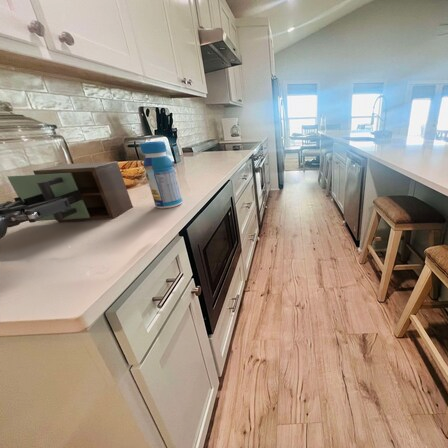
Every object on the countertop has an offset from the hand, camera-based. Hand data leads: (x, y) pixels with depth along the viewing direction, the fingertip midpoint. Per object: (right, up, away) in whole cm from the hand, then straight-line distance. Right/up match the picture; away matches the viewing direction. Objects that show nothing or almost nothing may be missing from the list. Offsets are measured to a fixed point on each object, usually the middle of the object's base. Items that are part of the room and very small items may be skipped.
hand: (64, 195), depth 66 cm
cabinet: (+2, -5, +9) cm, 10 cm away
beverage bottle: (+21, -1, +14) cm, 26 cm away
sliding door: (-4, -8, 0) cm, 9 cm away
